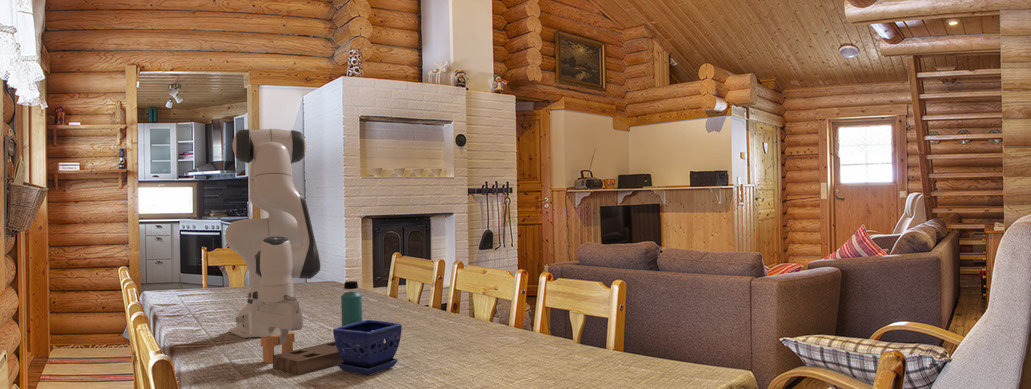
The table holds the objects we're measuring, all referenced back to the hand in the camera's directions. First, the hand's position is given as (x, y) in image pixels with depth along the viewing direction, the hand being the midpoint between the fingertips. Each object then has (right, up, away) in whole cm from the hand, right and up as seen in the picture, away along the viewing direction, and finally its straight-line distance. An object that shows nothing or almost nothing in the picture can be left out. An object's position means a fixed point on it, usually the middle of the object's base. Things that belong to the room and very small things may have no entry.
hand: (277, 342), depth 194 cm
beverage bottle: (+18, -5, +15) cm, 24 cm away
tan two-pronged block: (0, -5, 0) cm, 5 cm away
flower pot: (+29, -5, -12) cm, 31 cm away
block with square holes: (+14, -5, -3) cm, 15 cm away
